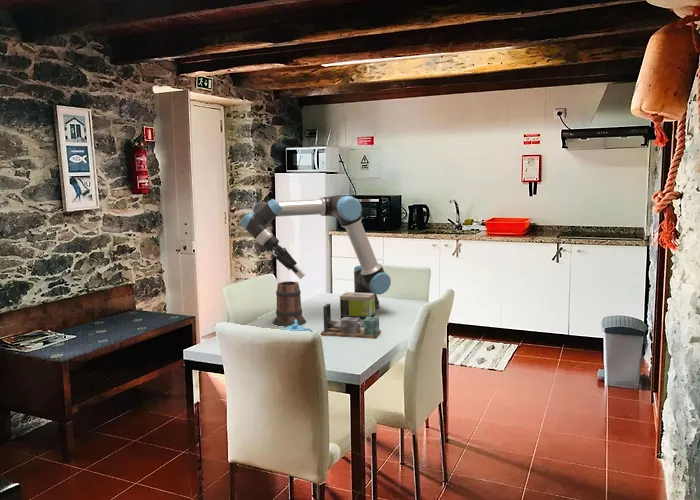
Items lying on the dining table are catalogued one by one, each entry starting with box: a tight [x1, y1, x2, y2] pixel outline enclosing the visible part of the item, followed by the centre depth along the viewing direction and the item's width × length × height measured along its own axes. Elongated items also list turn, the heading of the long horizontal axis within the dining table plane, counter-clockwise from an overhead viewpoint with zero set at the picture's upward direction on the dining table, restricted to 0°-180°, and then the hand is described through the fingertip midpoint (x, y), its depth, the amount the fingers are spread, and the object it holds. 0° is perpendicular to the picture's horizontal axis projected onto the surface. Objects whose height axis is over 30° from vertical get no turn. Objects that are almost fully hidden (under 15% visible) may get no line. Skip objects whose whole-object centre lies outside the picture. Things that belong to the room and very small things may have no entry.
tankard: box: [272, 281, 307, 328], centre depth 295 cm, size 24×17×20 cm
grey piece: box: [322, 303, 362, 331], centre depth 272 cm, size 17×6×11 cm, turn 76°
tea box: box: [339, 291, 376, 327], centre depth 287 cm, size 15×10×15 cm
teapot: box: [284, 319, 314, 333], centre depth 249 cm, size 15×14×11 cm
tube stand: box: [320, 316, 382, 339], centre depth 271 cm, size 26×10×8 cm, turn 76°
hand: (302, 276), depth 274 cm, fingers closed
